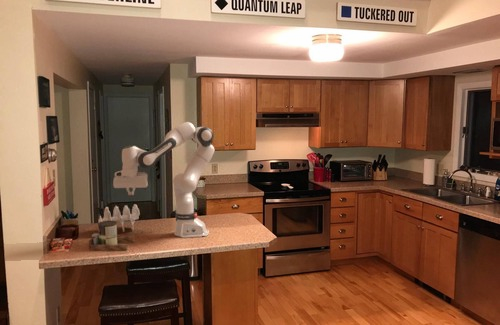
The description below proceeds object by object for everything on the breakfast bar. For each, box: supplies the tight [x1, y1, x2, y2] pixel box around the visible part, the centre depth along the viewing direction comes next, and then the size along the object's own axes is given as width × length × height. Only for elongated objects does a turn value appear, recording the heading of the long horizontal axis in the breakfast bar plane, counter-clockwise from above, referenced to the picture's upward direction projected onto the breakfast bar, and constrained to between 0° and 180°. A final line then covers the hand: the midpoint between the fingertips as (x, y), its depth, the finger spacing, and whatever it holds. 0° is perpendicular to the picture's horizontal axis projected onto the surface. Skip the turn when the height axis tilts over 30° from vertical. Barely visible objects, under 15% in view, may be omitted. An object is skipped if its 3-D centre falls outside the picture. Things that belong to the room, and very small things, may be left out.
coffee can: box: [97, 221, 118, 245], centre depth 232 cm, size 10×10×14 cm
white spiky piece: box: [98, 204, 141, 233], centre depth 262 cm, size 18×18×25 cm
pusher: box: [91, 232, 99, 245], centre depth 232 cm, size 4×12×7 cm, turn 1°
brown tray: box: [88, 236, 135, 252], centre depth 232 cm, size 21×16×6 cm
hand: (131, 194), depth 242 cm, fingers closed
